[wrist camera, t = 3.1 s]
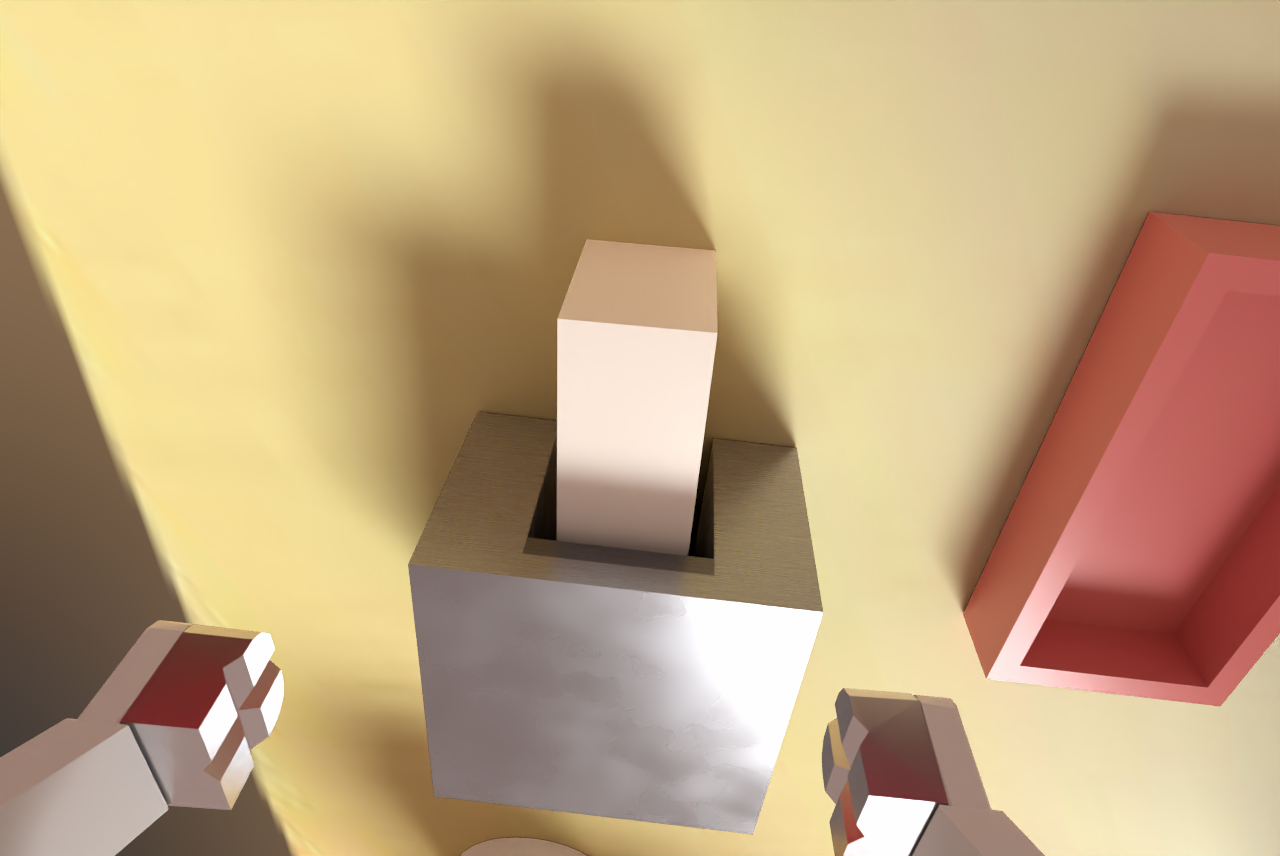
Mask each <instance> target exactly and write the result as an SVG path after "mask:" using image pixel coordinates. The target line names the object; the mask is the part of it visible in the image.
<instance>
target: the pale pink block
mask: <svg viewBox="0 0 1280 856" xmlns="http://www.w3.org/2000/svg"><path fill="white" fill-rule="evenodd" d="M717 334H718V326H717V273H716V250H704V249H693V248H681V247H670V246H659V245H647V244H636V243H624V242H613V241H601V240H590V239H586V242H585V245H584V248H583V250H582V253H581V256H580V258H579V261H578V264H577V267H576V269H575V272H574V275H573V278H572V280H571V283H570V286H569V288H568V291H567V294H566V297H565V299H564V302H563V305H562V308H561V310H560V313H559V316H558V318H557V541H562V542H571V543H580V544H588V545H597V546H606V547H615V548H623V549H632V550H641V551H649V552H658V553H667V554H675V555H684V556H688V553H689V545H690V538H691V530H692V523H693V515H694V507H695V500H696V492H697V485H698V477H699V470H700V462H701V455H702V447H703V440H704V432H705V425H706V417H707V410H708V402H709V394H710V387H711V379H712V372H713V364H714V357H715V349H716V342H717Z"/></svg>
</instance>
